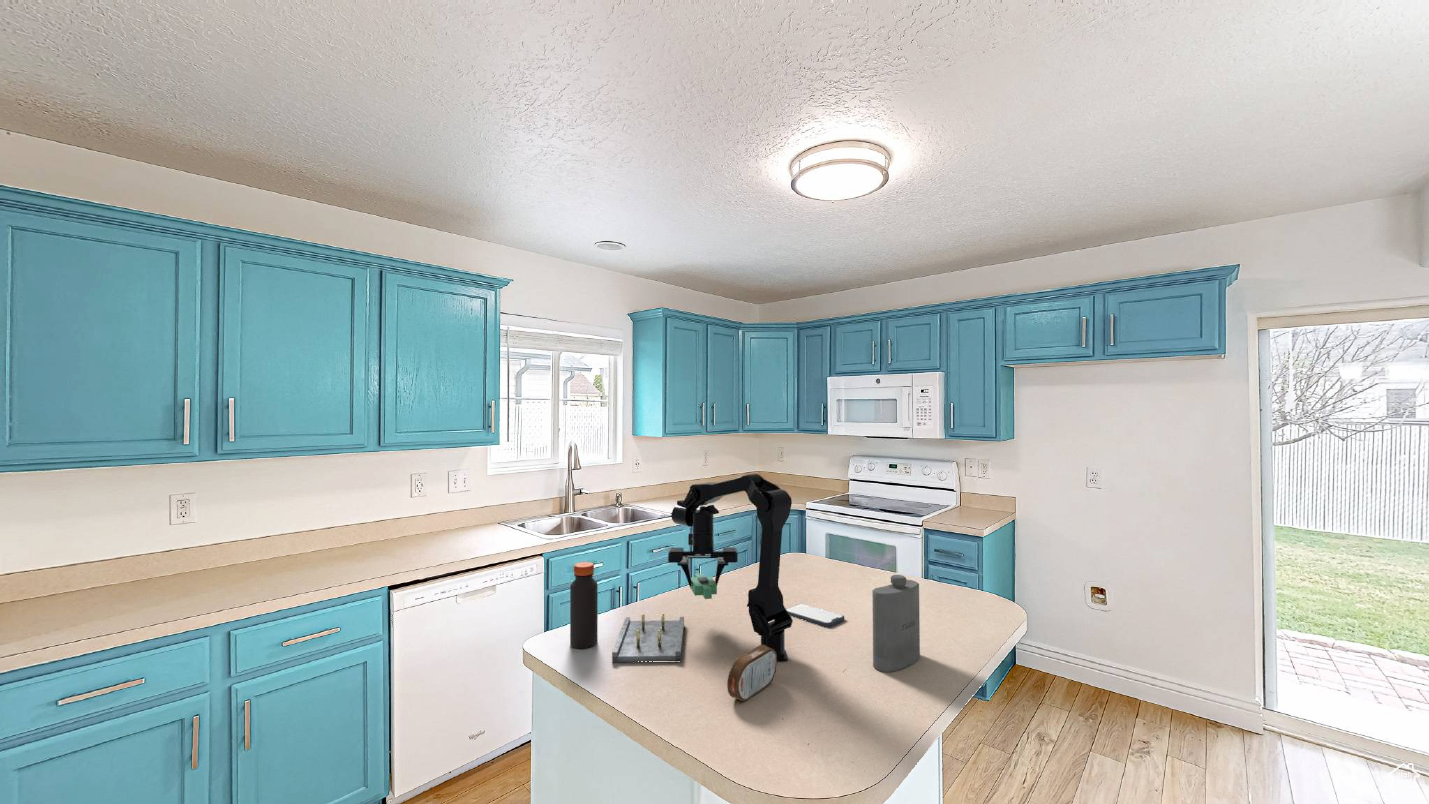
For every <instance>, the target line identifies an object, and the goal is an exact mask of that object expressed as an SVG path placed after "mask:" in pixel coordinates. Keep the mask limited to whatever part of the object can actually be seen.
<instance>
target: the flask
mask: <svg viewBox="0 0 1429 804" xmlns="http://www.w3.org/2000/svg"><path fill="white" fill-rule="evenodd" d="M871 595H872V667H874V669H876V670H877V671H880V672H882V673H893V672H896V671H900V670H903V669H906V668H908V667H910V666H911V665H914V663H915V662H917V661H918V660H919V659H920V657H921V656H920V655H921V650H920V649H921V647H920V646H921V641H920V638H921V637H920V636H921V634H920V633H921V631H920V629H921V628H920V622H921V621H920V583H919V582H917V581H915V580H912V579H907V577H906V576H904V575H902V574H893V575H891V576H890V584H888V585H885V586H880V587H875V588H874V589H872V594H871Z"/></svg>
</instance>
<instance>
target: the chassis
mask: <svg viewBox="0 0 1429 804" xmlns="http://www.w3.org/2000/svg"><path fill="white" fill-rule="evenodd" d="M660 617H661V620H645V619H646V616H645V613H642V614H641V620H631V617H630V616H628V617H627V616H626V617H625V618H624V621H623V624H622V625H621V626H622V627H621V629H620V631H619V633H618V635H617V639H616V641H615V644H614V646H613V649H612V651H611V652H612V653H611V654H612V655H611V660H612V661H611V663H612V664H616V663H615V662H638V661H639V662H641V661H643V662H645V661H647V662H649V661H652V662H653V661H681V662H682V654H681V653H682V652H683V643H682V642H684V633H683V632H684V631H685V616H679V620H665V614H664V613H661V615H660ZM613 662H614V663H613Z"/></svg>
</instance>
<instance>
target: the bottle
mask: <svg viewBox="0 0 1429 804" xmlns="http://www.w3.org/2000/svg"><path fill="white" fill-rule="evenodd" d="M594 566H595V563H594V562H590V561H581V562H577V563H575V564H573V576H574V577H575V579H574V580H573V581H572V582H571V584H570V587H569V588H570V589H569V593H570V594H569V595H570V598H569V599H570V601H569V603H570V604H569V607H570V609H569V610H570V611H569V612H570V613H569V614H570V615H569V619H570V621H569V622H570V623H569V632H570V634H569V644H570V646H571V647H572V648H573V649H578V650H582V649H583V650H584V649H588V648H589V649H590V648H592V647H594V646H596V645H597V643H598V639H599V638H598V631H599V630H598V627H599V626H598V623H599V622H598V617H599V616H598V612H599V610H598V600H599V599H598V594H599V593H598V591H599V590H598V589H599V588H598V587H599V586H598V582H597V580H596V579H594V578H593V576H594V573H595V572H594V571H595V567H594Z"/></svg>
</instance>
